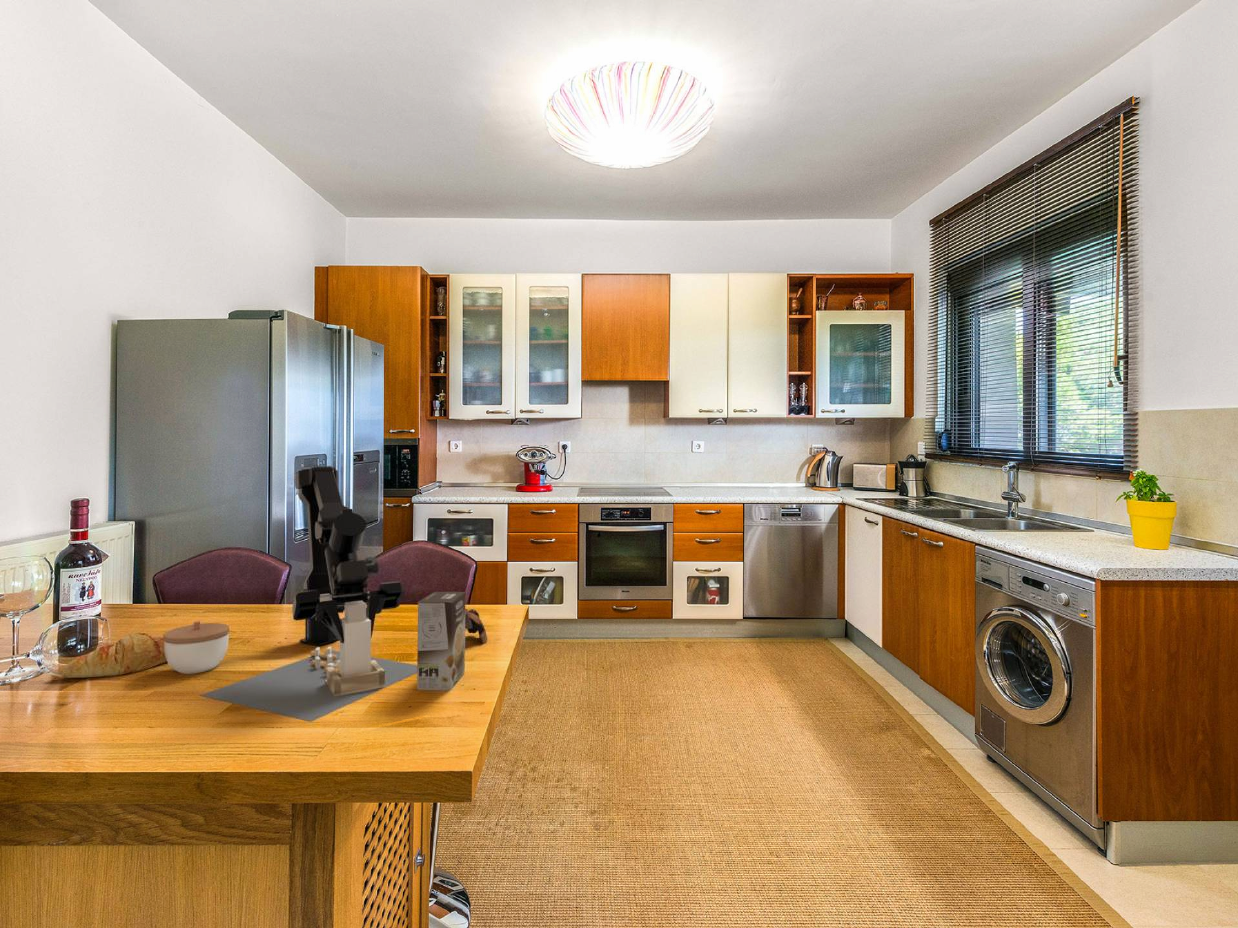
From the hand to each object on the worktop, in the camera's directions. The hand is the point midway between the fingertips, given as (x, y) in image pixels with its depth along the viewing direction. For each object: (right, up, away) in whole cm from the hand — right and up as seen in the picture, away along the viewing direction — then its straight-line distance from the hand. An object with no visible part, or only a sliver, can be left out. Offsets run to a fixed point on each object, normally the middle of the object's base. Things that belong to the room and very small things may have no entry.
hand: (356, 639), depth 116 cm
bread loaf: (-49, -9, +10) cm, 51 cm away
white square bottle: (-1, -7, +1) cm, 7 cm away
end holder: (-1, -8, +1) cm, 8 cm away
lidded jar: (-34, -8, +9) cm, 37 cm away
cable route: (-10, -8, +11) cm, 17 cm away
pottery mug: (+12, -9, +30) cm, 34 cm away
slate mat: (-8, -9, +3) cm, 12 cm away
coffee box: (+14, -9, +4) cm, 17 cm away
